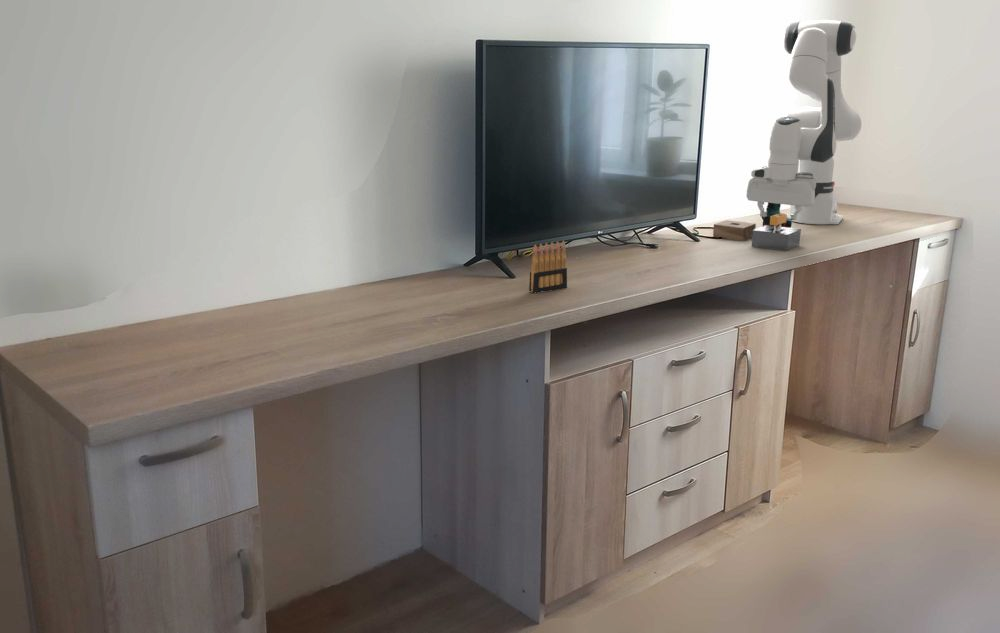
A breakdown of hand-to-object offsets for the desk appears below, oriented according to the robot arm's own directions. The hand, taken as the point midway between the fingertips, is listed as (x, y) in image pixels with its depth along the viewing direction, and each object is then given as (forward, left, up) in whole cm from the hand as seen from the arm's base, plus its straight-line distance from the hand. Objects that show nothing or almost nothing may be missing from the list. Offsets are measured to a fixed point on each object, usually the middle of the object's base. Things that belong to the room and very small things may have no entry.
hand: (778, 218), depth 290 cm
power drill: (-22, -6, -9) cm, 24 cm away
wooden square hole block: (-6, -16, -8) cm, 19 cm away
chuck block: (0, 0, -8) cm, 9 cm away
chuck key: (0, 0, -8) cm, 9 cm away
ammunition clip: (+90, -24, -9) cm, 94 cm away
